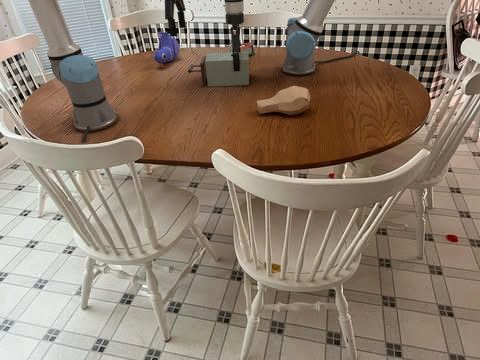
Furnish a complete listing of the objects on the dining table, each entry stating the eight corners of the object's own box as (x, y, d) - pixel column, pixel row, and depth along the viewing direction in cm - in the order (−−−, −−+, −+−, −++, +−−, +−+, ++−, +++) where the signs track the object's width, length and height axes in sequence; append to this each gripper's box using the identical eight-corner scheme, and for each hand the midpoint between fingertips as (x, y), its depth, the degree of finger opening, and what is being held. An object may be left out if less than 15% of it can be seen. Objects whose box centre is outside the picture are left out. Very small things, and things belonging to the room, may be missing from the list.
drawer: (189, 84, 157) (186, 63, 152) (192, 76, 165) (189, 56, 160) (240, 82, 156) (239, 61, 150) (241, 74, 164) (240, 54, 158)
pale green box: (207, 86, 157) (205, 61, 150) (210, 77, 166) (208, 53, 159) (248, 85, 156) (247, 59, 149) (249, 75, 165) (248, 51, 158)
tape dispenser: (245, 68, 177) (264, 54, 190) (245, 58, 174) (264, 44, 186) (216, 62, 185) (237, 49, 197) (215, 52, 181) (236, 39, 194)
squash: (314, 116, 128) (313, 95, 122) (259, 125, 130) (256, 105, 124) (308, 99, 136) (307, 78, 129) (257, 108, 138) (253, 88, 131)
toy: (167, 63, 198) (147, 69, 175) (163, 31, 191) (141, 33, 169) (184, 63, 195) (166, 69, 173) (180, 30, 189) (161, 32, 166)
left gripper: (170, -30, 148) (178, 24, 161) (149, -21, 128) (160, 40, 141) (187, -31, 147) (194, 24, 160) (169, -22, 127) (178, 39, 140)
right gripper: (227, 7, 154) (230, 58, 166) (223, 19, 134) (227, 76, 147) (244, 6, 153) (246, 57, 166) (242, 18, 134) (245, 75, 147)
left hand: (178, 31), depth 150 cm, fingers open, 13 cm apart
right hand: (237, 66), depth 157 cm, fingers closed on pale green box, 11 cm apart
